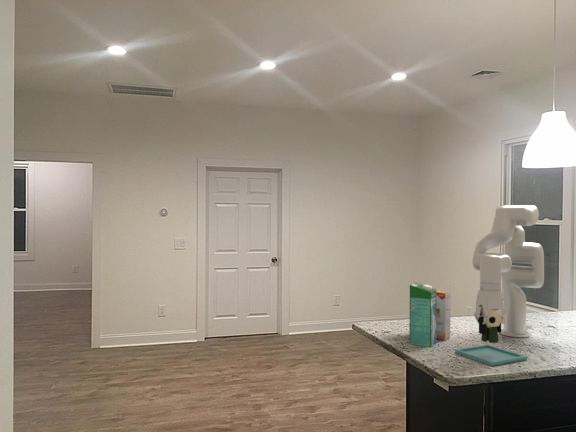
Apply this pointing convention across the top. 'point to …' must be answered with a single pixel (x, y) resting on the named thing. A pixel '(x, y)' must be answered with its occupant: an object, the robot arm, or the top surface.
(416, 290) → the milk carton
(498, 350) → the tray
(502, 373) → the top surface
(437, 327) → the cracker box
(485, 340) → the character mug
